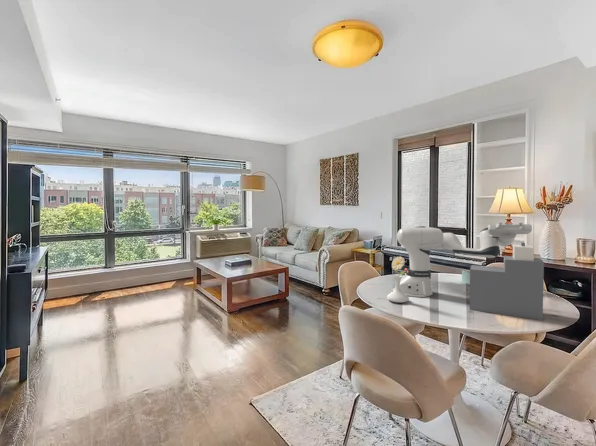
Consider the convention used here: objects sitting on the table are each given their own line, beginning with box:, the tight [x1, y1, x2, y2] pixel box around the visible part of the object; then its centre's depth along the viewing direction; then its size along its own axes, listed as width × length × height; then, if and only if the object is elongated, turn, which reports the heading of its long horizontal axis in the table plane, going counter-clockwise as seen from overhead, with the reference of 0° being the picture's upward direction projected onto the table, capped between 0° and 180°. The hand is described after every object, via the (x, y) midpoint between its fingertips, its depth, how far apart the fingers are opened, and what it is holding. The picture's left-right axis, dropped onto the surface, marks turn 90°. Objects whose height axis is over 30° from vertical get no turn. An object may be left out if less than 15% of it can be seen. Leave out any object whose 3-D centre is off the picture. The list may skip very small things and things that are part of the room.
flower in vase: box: [386, 256, 410, 303], centre depth 159 cm, size 13×11×25 cm
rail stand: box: [469, 255, 545, 321], centre depth 143 cm, size 12×28×26 cm, turn 57°
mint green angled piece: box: [461, 270, 470, 285], centre depth 196 cm, size 12×12×8 cm
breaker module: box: [512, 242, 535, 261], centre depth 142 cm, size 19×7×8 cm, turn 147°
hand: (510, 223), depth 162 cm, fingers open, 8 cm apart
